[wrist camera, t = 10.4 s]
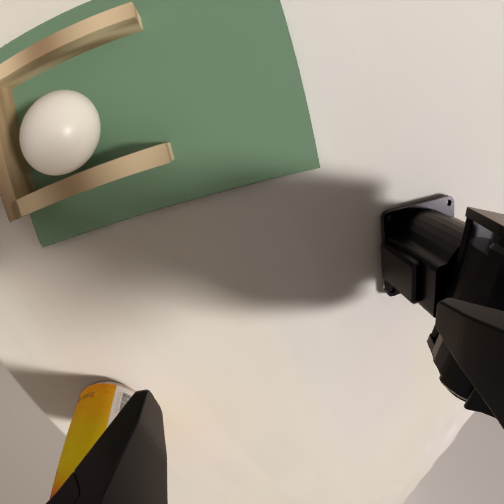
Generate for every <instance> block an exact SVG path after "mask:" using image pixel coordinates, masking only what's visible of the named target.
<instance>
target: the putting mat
mask: <svg viewBox="0 0 504 504" xmlns="http://www.w3.org/2000/svg"><path fill="white" fill-rule="evenodd" d="M129 2H133V4H134V6H135V8H136V10H137V11H138V13H139V15H140V17H141V22H142V27H143V31H141V32H138V33H135V34H132V35H129V36H126V37H123V38H120V39H117V40H115V41H112V42H109V43H107V44H104V45H101V46H99V47H96V48H94V49H91V50H89V51H87V52H84V53H82V54H80V55H77V56H75V57H73V58H71V59H69V60H66V61H64V62H62V63H60V64H58V65H56V66H54V67H52V68H50V69H48V70H46V71H44V72H42V73H40V74H38V75H36V76H34V77H33V78H31V79H29V80H27V81H25V82H24V83H22V84H20V85H18V86H17V87H15V88H13V89H12V92H13V98H14V104H15V109H16V115H17V120H18V124H19V129H20V128H21V124H22V121H23V118H24V116H25V114H26V113H27V111H28V110H29V108H30V107H31V106H32V105H33V104H34V102H36V101H37V100H38V99H39V98H41V97H42V96H44V95H46V94H48V93H50V92H53V91H57V90H72V91H76V92H79V93H81V94H83V95H84V96H86V97H87V98H88V99H89V100H90V101H91V102H92V103H93V104H94V106H95V108H96V110H97V112H98V114H99V118H100V124H101V132H100V138H99V141H98V144H97V147H96V149H95V151H94V153H93V154H92V156H91V157H90V158H89V160H88V161H87V162H86V163H85V164H84V165H82V166H81V167H80V168H78V169H77V170H75V171H73V172H71V173H68V174H64V175H57V176H54V175H47V174H43V173H41V172H39V171H37V170H36V169H34V168H33V167H32V166H31V165H30V164H29V163H28V166H29V170H30V173H31V177H32V180H33V183H34V187H35V190H36V191H37V190H39V189H41V188H44V187H46V186H48V185H51V184H53V183H55V182H58V181H60V180H62V179H65V178H67V177H70V176H72V175H75V174H77V173H80V172H82V171H85V170H87V169H90V168H93V167H95V166H98V165H101V164H103V163H106V162H109V161H112V160H114V159H117V158H120V157H123V156H126V155H129V154H132V153H135V152H138V151H141V150H144V149H147V148H150V147H153V146H157V145H160V144H163V143H167V142H170V144H171V148H172V151H173V155H174V160H173V161H171V162H170V163H167V164H164V165H161V166H157V167H154V168H151V169H148V170H145V171H141V172H138V173H135V174H132V175H129V176H126V177H123V178H120V179H117V180H114V181H112V182H109V183H106V184H103V185H100V186H98V187H95V188H92V189H89V190H87V191H84V192H81V193H79V194H76V195H73V196H71V197H68V198H66V199H63V200H61V201H58V202H56V203H53V204H51V205H48V206H46V207H44V208H41V209H39V210H36V211H34V212H32V213H30V215H31V218H32V221H33V224H34V227H35V230H36V232H37V235H38V238H39V240H40V243H41V245H42V248H43V247H45V246H48V245H51V244H54V243H56V242H59V241H62V240H65V239H68V238H71V237H73V236H76V235H79V234H82V233H85V232H88V231H91V230H94V229H97V228H100V227H103V226H106V225H109V224H112V223H115V222H118V221H122V220H125V219H128V218H131V217H134V216H137V215H141V214H144V213H147V212H151V211H154V210H157V209H161V208H164V207H167V206H171V205H174V204H178V203H181V202H185V201H188V200H192V199H195V198H199V197H203V196H206V195H210V194H214V193H217V192H221V191H225V190H229V189H233V188H236V187H240V186H244V185H248V184H252V183H256V182H260V181H264V180H268V179H273V178H277V177H281V176H285V175H290V174H294V173H298V172H303V171H307V170H312V169H316V168H320V164H319V159H318V154H317V149H316V144H315V139H314V134H313V129H312V124H311V120H310V115H309V110H308V106H307V102H306V97H305V93H304V89H303V84H302V80H301V76H300V72H299V68H298V64H297V60H296V56H295V52H294V49H293V45H292V41H291V37H290V34H289V30H288V27H287V23H286V19H285V16H284V13H283V9H282V6H281V3H280V0H92V1H89V2H87V3H84V4H82V5H80V6H77V7H75V8H73V9H71V10H69V11H66V12H64V13H62V14H60V15H58V16H56V17H54V18H52V19H50V20H48V21H46V22H44V23H42V24H40V25H39V26H37V27H35V28H33V29H31V30H30V31H28V32H26V33H24V34H23V35H21V36H19V37H17V38H16V39H14V40H13V41H11V42H9V43H8V44H6V45H5V46H3V47H1V48H0V64H1V63H3V62H4V61H6V60H7V59H9V58H11V57H12V56H14V55H16V54H17V53H19V52H21V51H22V50H24V49H26V48H28V47H29V46H31V45H33V44H35V43H37V42H38V41H40V40H42V39H44V38H46V37H48V36H50V35H52V34H54V33H56V32H58V31H60V30H62V29H64V28H66V27H69V26H71V25H73V24H75V23H77V22H80V21H82V20H84V19H87V18H89V17H91V16H94V15H96V14H99V13H101V12H104V11H107V10H109V9H112V8H115V7H117V6H120V5H123V4H126V3H129Z"/></svg>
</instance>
